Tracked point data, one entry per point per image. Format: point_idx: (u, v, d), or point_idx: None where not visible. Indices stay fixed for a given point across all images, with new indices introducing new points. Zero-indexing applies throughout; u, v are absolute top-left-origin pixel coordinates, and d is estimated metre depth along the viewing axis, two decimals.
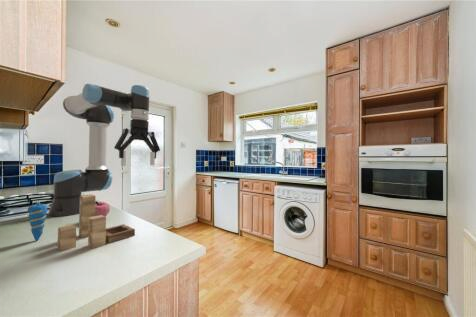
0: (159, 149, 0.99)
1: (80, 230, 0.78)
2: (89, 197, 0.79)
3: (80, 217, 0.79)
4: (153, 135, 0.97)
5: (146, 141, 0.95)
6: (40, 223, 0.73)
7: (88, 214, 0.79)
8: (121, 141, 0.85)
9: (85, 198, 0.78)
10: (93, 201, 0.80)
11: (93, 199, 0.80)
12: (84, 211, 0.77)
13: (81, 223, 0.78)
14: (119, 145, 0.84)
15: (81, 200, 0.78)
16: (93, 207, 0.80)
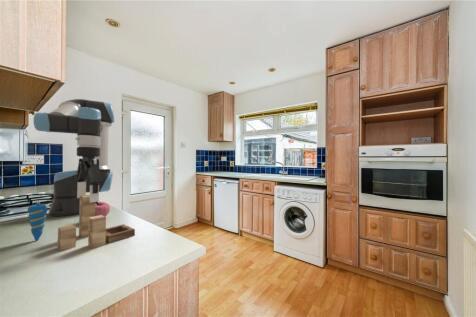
0: (93, 181, 0.73)
1: (80, 230, 0.78)
2: (89, 197, 0.79)
3: (80, 217, 0.79)
4: (91, 163, 0.75)
5: None
6: (40, 223, 0.73)
7: (88, 213, 0.79)
8: (77, 172, 0.84)
9: (85, 198, 0.78)
10: None
11: None
12: (84, 211, 0.77)
13: (81, 223, 0.78)
14: (76, 176, 0.84)
15: (81, 200, 0.78)
16: (93, 207, 0.80)
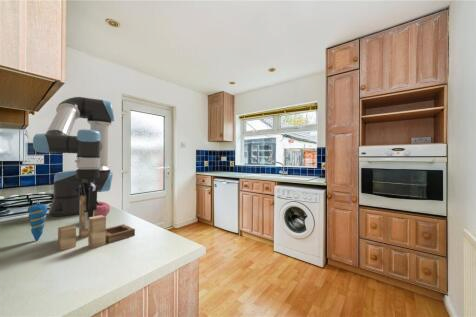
0: (88, 209, 0.76)
1: (80, 230, 0.78)
2: None
3: (80, 217, 0.79)
4: (89, 190, 0.76)
5: None
6: (40, 223, 0.73)
7: None
8: (79, 198, 0.82)
9: (85, 198, 0.78)
10: None
11: None
12: None
13: (81, 223, 0.78)
14: (79, 203, 0.82)
15: (81, 200, 0.78)
16: None
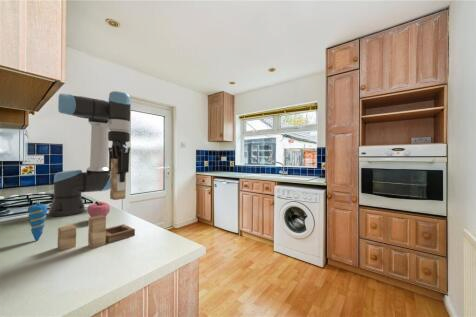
0: (121, 170, 0.76)
1: (112, 193, 0.78)
2: None
3: (112, 180, 0.78)
4: (122, 151, 0.76)
5: None
6: (40, 223, 0.73)
7: None
8: (109, 162, 0.82)
9: (117, 160, 0.77)
10: None
11: None
12: None
13: (113, 186, 0.78)
14: (109, 167, 0.82)
15: (113, 162, 0.78)
16: None
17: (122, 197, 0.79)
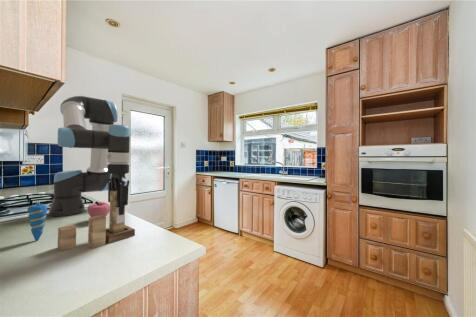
0: (120, 204, 0.76)
1: (111, 225, 0.78)
2: None
3: (111, 212, 0.78)
4: (121, 185, 0.76)
5: None
6: (40, 223, 0.73)
7: None
8: (108, 193, 0.82)
9: (116, 193, 0.78)
10: None
11: None
12: (115, 206, 0.77)
13: (112, 218, 0.78)
14: (108, 198, 0.82)
15: (112, 195, 0.78)
16: None
17: (121, 229, 0.79)
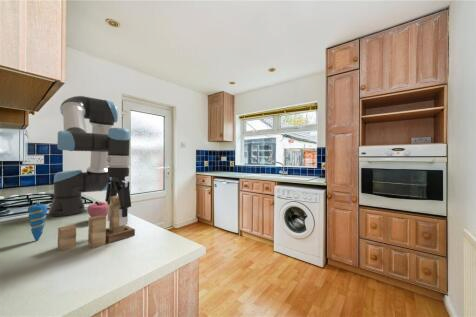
0: (123, 206, 0.74)
1: (111, 231, 0.78)
2: None
3: (111, 218, 0.78)
4: (122, 186, 0.75)
5: None
6: (40, 223, 0.73)
7: (118, 214, 0.78)
8: (106, 193, 0.83)
9: (116, 199, 0.78)
10: None
11: None
12: (115, 212, 0.77)
13: (112, 224, 0.78)
14: (106, 198, 0.83)
15: (112, 201, 0.78)
16: None
17: None
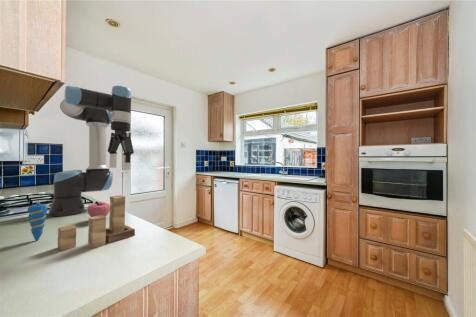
0: (127, 151, 0.83)
1: (111, 231, 0.78)
2: (119, 198, 0.79)
3: (111, 218, 0.78)
4: (124, 136, 0.85)
5: None
6: (40, 223, 0.73)
7: (118, 214, 0.78)
8: (109, 145, 0.94)
9: (116, 199, 0.78)
10: (123, 201, 0.80)
11: (123, 200, 0.80)
12: (115, 212, 0.77)
13: (112, 224, 0.78)
14: (108, 149, 0.94)
15: (112, 201, 0.78)
16: (123, 208, 0.80)
17: None
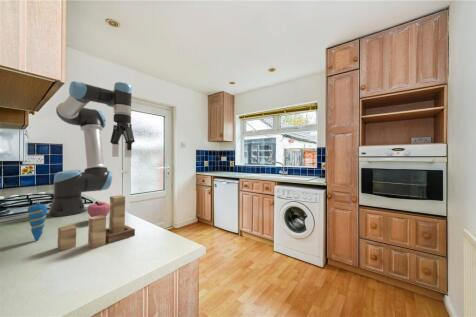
0: (128, 140, 0.93)
1: (111, 231, 0.78)
2: (119, 198, 0.79)
3: (111, 218, 0.78)
4: (125, 126, 0.95)
5: None
6: (40, 223, 0.73)
7: (118, 214, 0.78)
8: (112, 136, 1.03)
9: (116, 199, 0.78)
10: (123, 201, 0.80)
11: (123, 200, 0.80)
12: (115, 212, 0.77)
13: (112, 224, 0.78)
14: (111, 140, 1.04)
15: (112, 201, 0.78)
16: (123, 208, 0.80)
17: None
